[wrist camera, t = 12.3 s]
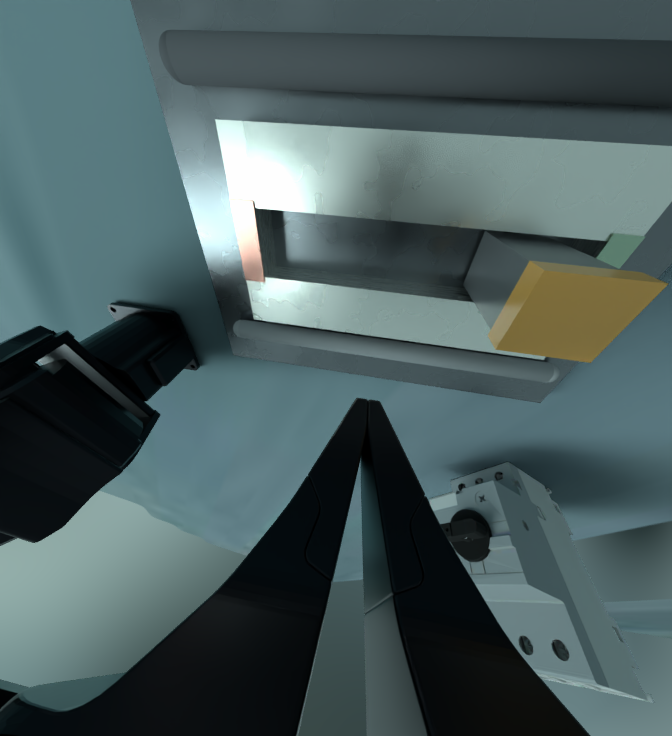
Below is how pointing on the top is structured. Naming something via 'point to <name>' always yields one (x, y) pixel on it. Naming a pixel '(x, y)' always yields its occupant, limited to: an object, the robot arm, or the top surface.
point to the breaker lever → (553, 296)
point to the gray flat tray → (421, 78)
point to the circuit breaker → (535, 579)
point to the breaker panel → (388, 114)
